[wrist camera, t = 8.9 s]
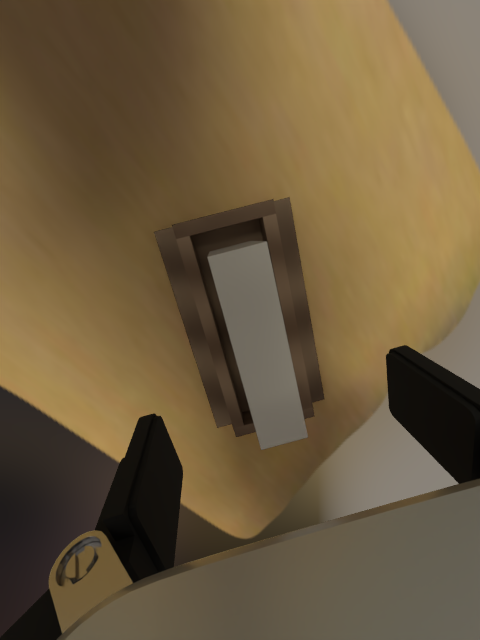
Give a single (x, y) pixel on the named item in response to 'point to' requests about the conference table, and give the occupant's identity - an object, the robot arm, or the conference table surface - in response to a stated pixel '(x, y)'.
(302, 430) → the light grey block
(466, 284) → the conference table surface
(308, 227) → the conference table surface
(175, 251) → the rack
